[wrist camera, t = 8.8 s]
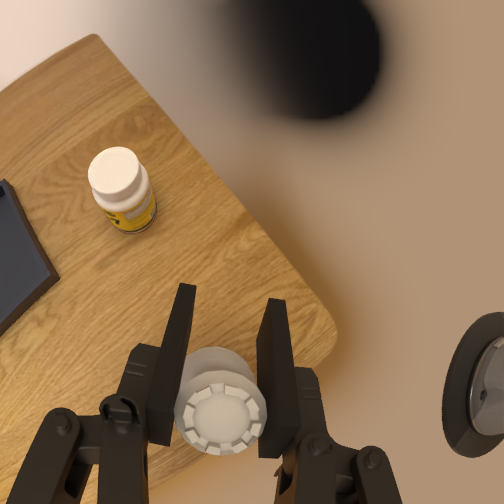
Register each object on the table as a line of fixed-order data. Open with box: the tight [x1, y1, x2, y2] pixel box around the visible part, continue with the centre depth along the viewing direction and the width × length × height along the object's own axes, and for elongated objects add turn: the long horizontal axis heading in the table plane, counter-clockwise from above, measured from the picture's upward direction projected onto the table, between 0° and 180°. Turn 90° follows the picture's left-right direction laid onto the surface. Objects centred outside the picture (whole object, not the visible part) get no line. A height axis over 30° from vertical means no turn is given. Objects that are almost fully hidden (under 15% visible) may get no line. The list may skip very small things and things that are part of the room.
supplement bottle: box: [88, 147, 157, 233], centre depth 25 cm, size 5×5×8 cm
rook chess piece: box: [173, 346, 267, 456], centre depth 13 cm, size 4×4×8 cm
